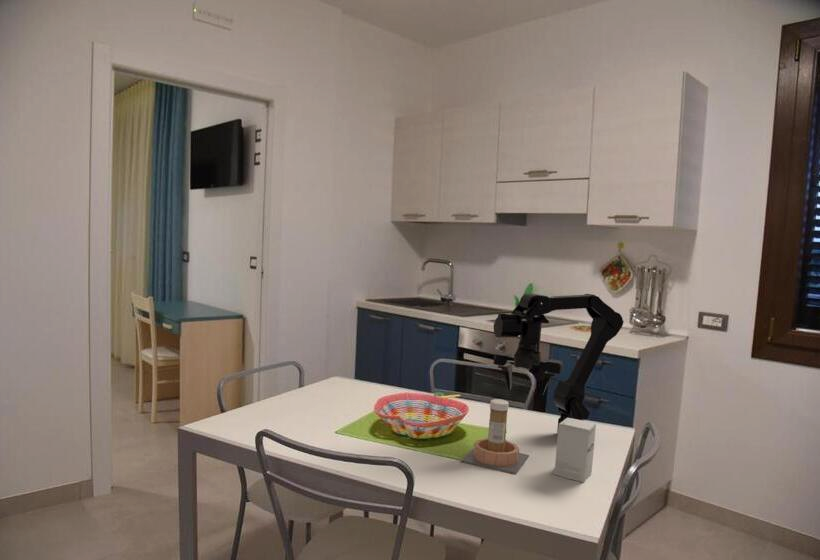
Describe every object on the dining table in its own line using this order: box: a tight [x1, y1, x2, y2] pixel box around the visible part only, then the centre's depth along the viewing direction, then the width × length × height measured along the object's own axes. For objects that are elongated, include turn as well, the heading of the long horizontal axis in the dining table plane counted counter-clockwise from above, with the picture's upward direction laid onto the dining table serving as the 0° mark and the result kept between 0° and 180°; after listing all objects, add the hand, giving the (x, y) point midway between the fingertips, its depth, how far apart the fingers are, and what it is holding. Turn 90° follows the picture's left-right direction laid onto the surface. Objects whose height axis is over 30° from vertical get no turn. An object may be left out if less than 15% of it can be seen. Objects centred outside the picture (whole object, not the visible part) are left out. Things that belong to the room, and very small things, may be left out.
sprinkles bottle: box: [487, 398, 510, 452], centre depth 146 cm, size 5×4×14 cm
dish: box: [460, 437, 530, 475], centre depth 146 cm, size 14×14×3 cm
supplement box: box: [553, 418, 597, 483], centre depth 139 cm, size 7×7×13 cm
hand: (525, 392), depth 164 cm, fingers open, 9 cm apart
